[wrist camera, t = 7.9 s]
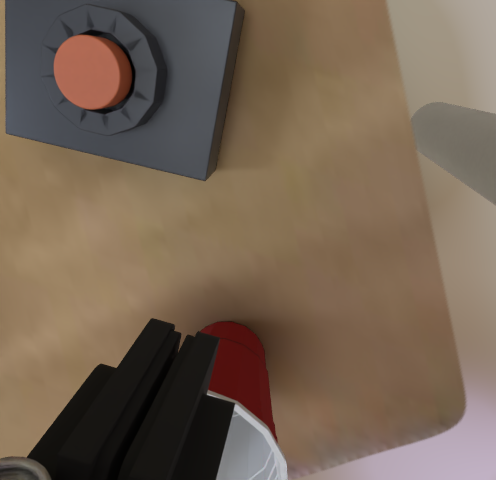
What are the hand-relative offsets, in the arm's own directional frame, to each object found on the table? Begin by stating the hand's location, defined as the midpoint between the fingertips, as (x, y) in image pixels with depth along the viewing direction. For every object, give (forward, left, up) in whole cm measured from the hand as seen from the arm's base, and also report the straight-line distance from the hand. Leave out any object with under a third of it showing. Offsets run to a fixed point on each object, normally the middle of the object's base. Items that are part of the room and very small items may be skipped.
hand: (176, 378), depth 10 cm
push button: (+10, -5, -16) cm, 20 cm away
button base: (+10, -5, -21) cm, 23 cm away
